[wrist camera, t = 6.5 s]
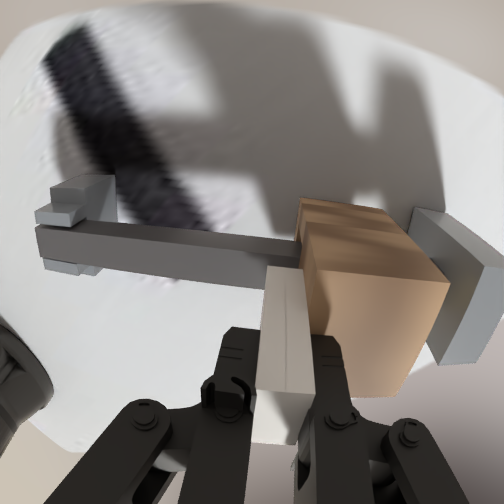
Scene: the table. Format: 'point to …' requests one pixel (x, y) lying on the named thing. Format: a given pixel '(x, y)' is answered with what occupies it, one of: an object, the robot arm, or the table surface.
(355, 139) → the table surface
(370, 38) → the table surface
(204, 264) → the rod rig
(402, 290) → the wooden block on rod
